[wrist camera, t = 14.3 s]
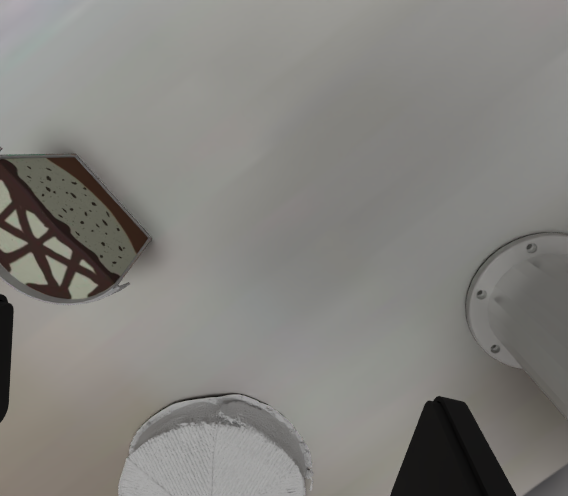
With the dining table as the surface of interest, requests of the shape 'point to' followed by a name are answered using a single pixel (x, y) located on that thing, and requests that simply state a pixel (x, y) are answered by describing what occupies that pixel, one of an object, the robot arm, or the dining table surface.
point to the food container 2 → (217, 452)
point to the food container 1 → (63, 230)
